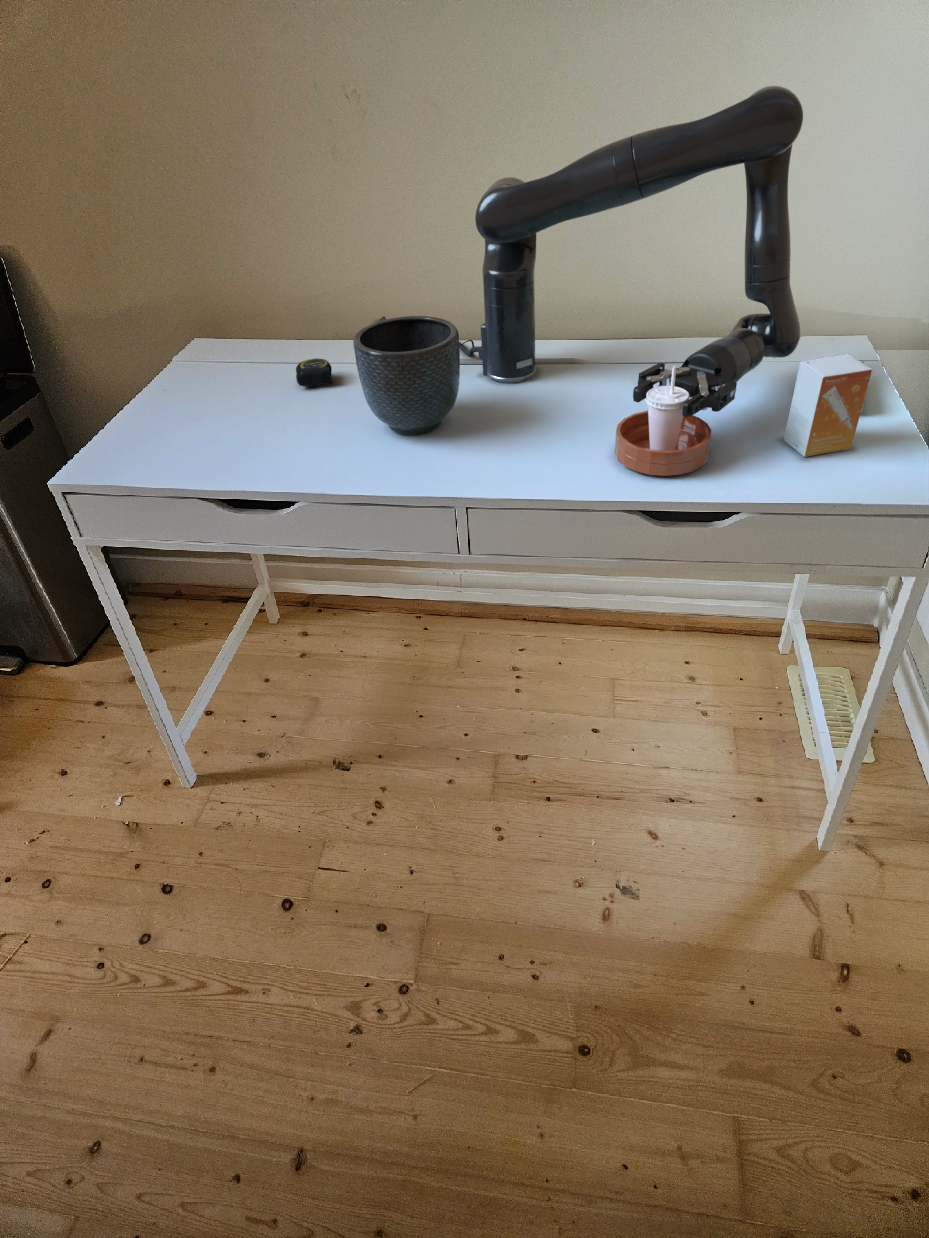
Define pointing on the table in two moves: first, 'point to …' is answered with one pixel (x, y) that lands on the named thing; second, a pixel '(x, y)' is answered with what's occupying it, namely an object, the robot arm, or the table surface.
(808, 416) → the small box
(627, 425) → the bowl
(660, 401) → the smoothie
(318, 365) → the tape measure
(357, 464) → the table surface
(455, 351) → the planter
